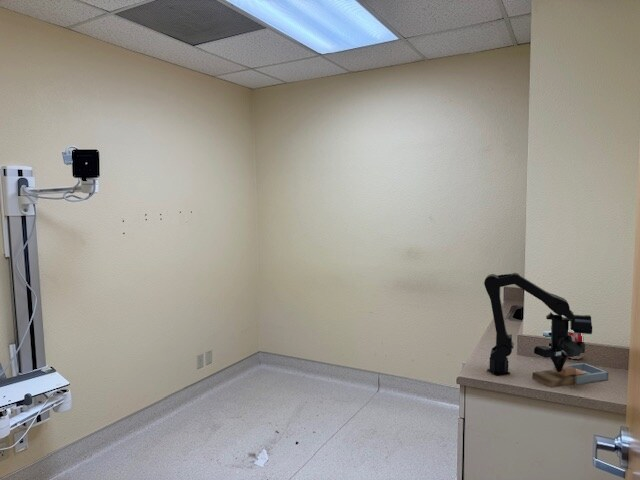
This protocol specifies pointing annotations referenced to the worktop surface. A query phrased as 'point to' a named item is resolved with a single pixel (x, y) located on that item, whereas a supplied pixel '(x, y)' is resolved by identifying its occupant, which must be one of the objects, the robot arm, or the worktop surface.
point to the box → (589, 374)
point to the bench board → (553, 378)
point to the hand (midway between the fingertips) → (558, 371)
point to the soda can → (575, 336)
